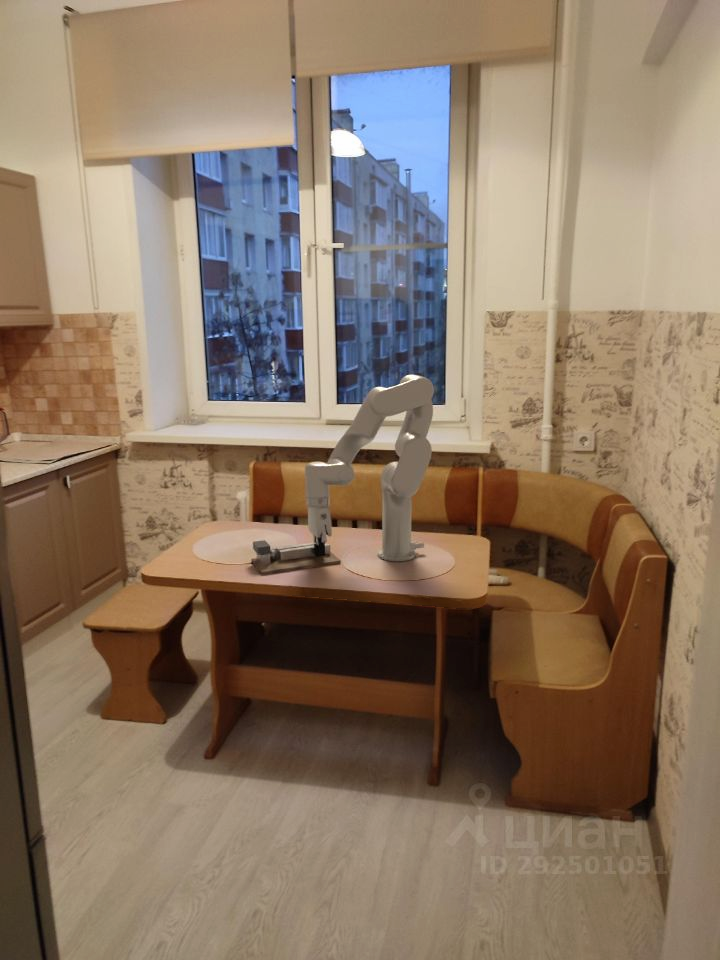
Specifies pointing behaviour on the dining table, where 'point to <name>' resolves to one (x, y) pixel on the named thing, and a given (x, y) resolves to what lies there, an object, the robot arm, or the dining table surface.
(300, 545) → the tongs frame
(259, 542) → the lock slider
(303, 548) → the grey rectangular bar
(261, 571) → the cutting board
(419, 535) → the dining table surface
